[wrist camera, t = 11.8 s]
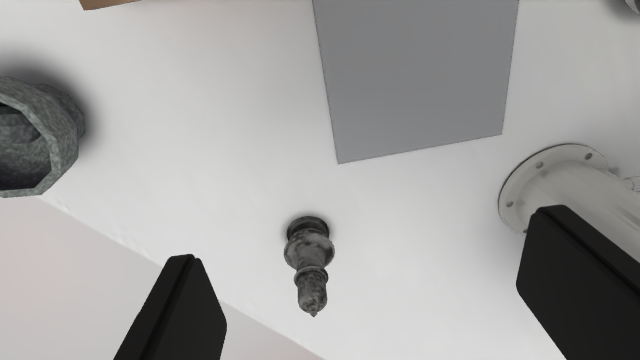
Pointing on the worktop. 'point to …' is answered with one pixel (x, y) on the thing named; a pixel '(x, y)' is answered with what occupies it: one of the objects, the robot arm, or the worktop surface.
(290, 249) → the dark stone chess piece
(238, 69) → the worktop surface
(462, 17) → the rubber mat
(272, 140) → the worktop surface
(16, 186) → the mortar and pestle
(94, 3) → the walnut lid
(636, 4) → the dark grey egg shape
